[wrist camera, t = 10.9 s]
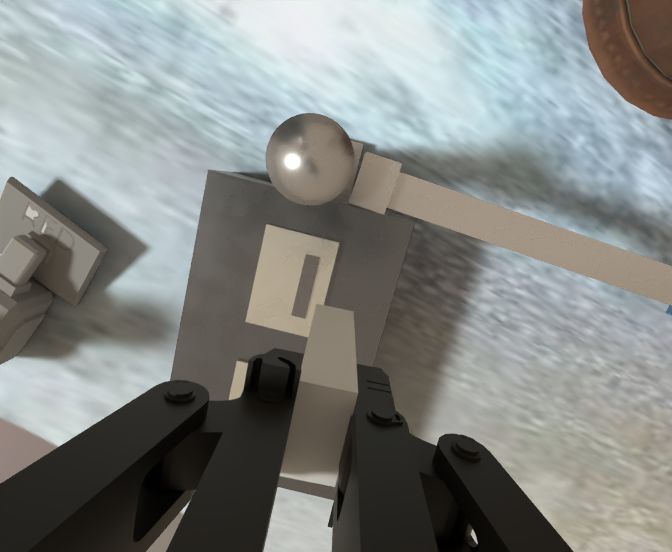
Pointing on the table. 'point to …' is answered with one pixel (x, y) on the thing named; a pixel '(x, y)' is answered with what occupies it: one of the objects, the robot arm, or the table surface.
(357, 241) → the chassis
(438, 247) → the table surface
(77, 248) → the camera
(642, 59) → the cup holder
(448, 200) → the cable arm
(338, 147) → the post
